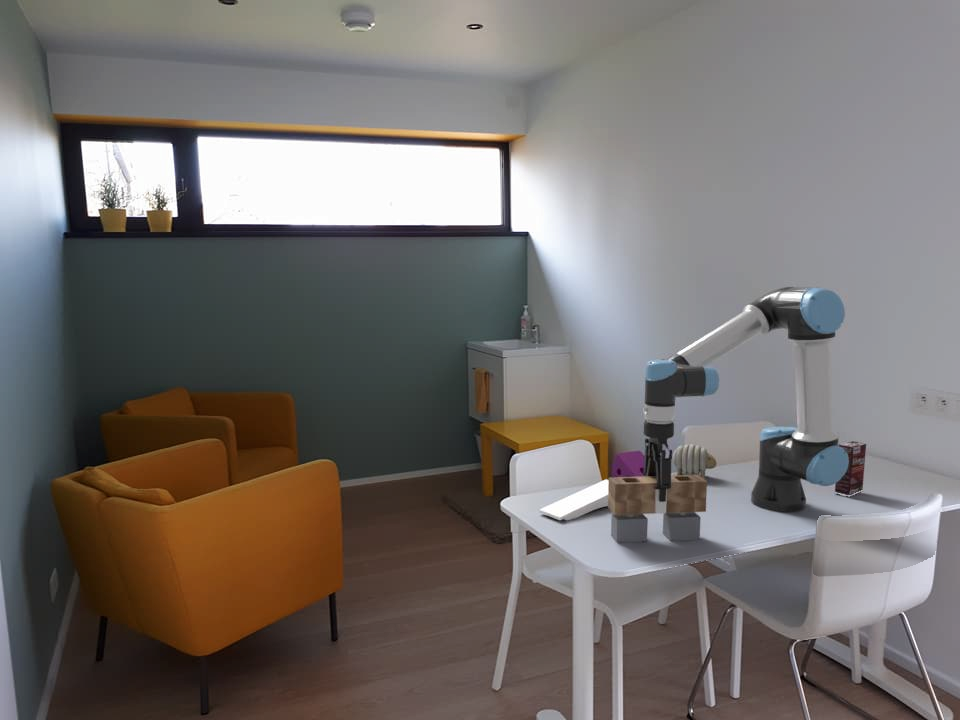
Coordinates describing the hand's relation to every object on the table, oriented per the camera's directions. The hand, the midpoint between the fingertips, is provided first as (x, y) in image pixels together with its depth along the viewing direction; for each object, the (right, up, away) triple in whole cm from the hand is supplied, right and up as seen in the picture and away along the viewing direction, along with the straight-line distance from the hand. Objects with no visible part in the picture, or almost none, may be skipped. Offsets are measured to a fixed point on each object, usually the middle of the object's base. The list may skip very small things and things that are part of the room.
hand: (655, 508), depth 186 cm
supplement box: (+70, -3, +38) cm, 79 cm away
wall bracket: (-15, -6, +24) cm, 29 cm away
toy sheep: (+25, -1, +57) cm, 62 cm away
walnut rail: (0, 0, 0) cm, 0 cm away
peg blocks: (0, -8, +1) cm, 8 cm away
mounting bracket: (+6, -3, +46) cm, 47 cm away
